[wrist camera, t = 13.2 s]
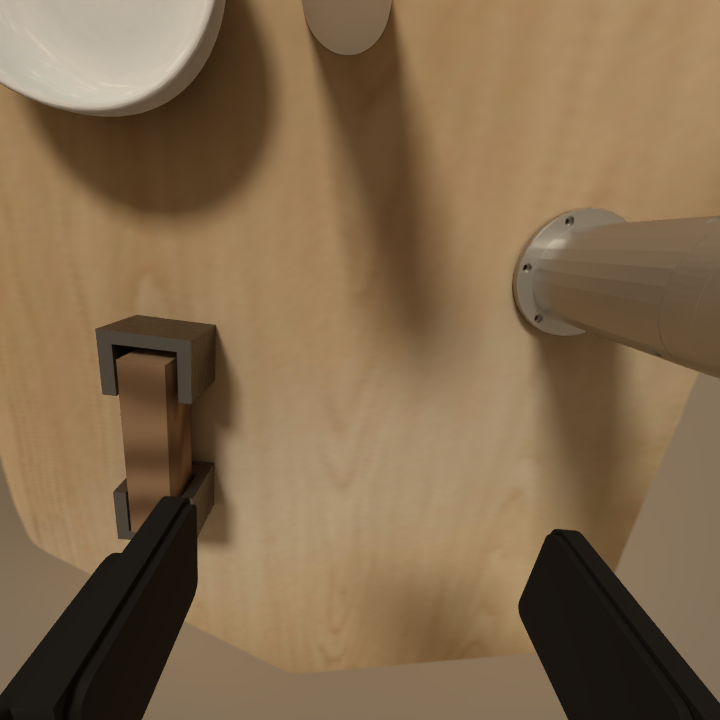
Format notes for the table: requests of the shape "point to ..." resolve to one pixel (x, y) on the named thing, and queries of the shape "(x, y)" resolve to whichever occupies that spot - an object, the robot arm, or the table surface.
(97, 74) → the serving bowl
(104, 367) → the bracket
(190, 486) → the bracket
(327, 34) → the cylindrical container
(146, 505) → the walnut rail
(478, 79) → the table surface
